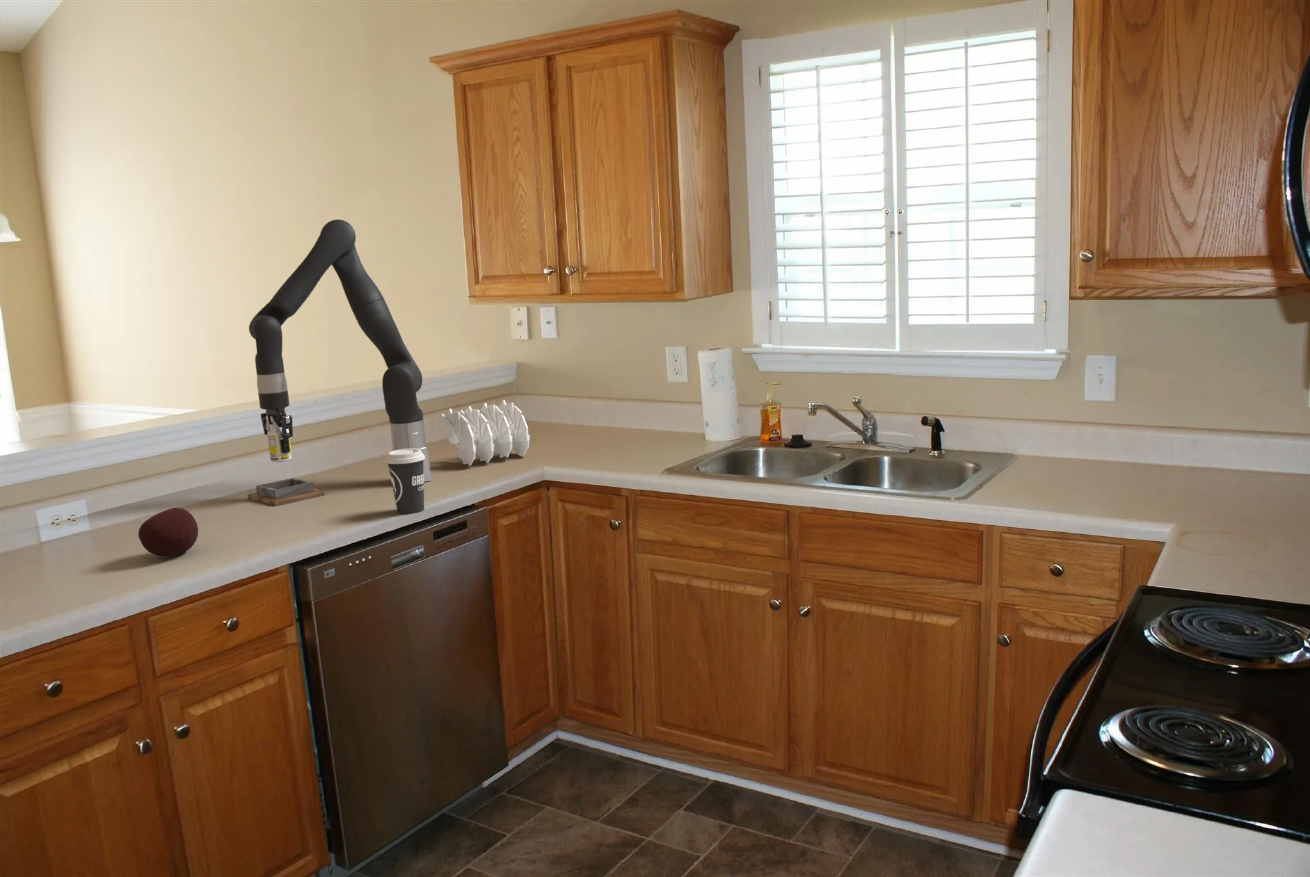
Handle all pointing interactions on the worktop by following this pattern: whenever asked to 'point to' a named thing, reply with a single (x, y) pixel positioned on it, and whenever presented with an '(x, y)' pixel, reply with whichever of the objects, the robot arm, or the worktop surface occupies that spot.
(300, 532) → the worktop surface
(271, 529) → the worktop surface
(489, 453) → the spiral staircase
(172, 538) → the potato
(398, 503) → the coffee cup
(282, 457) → the supplement bottle
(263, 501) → the holder
